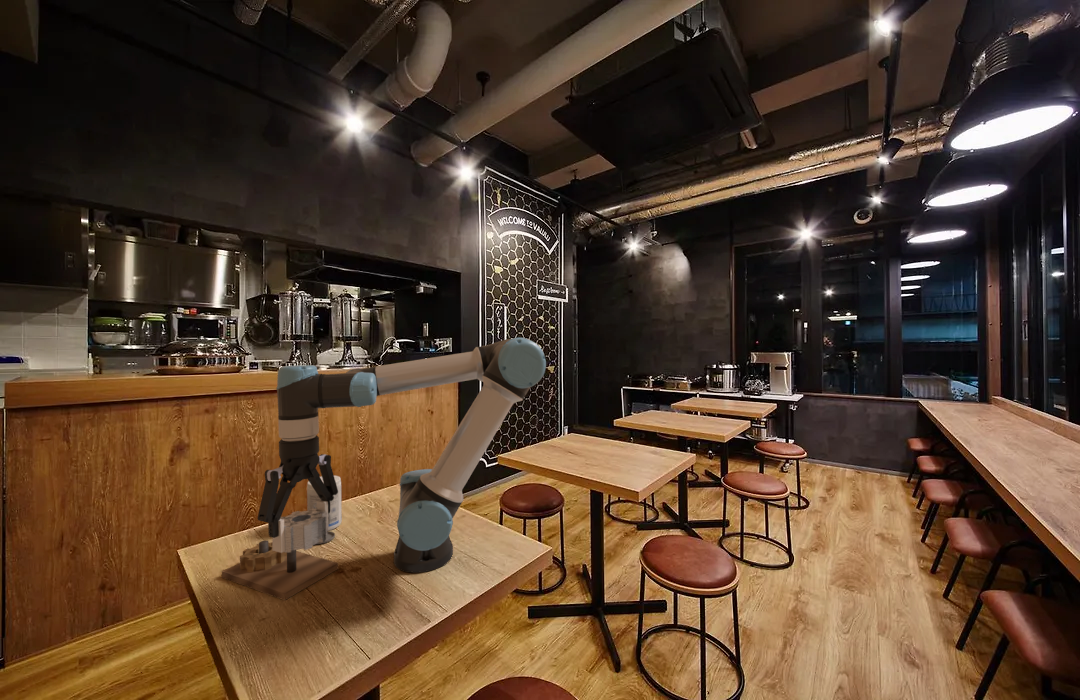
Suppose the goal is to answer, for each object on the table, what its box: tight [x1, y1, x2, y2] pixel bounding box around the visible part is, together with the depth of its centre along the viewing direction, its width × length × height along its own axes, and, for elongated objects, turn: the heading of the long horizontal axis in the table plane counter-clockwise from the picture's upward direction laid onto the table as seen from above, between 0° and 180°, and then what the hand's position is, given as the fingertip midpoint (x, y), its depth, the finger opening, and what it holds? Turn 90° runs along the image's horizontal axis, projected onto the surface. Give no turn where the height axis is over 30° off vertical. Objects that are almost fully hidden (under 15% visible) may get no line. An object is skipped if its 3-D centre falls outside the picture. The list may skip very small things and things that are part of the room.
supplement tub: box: [306, 475, 343, 532], centre depth 129 cm, size 10×10×15 cm
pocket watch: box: [313, 503, 336, 545], centre depth 121 cm, size 8×8×10 cm
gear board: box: [221, 539, 339, 601], centre depth 103 cm, size 23×14×6 cm, turn 66°
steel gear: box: [280, 509, 328, 552], centre depth 90 cm, size 10×10×5 cm
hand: (302, 539), depth 90 cm, fingers closed on steel gear, 10 cm apart
